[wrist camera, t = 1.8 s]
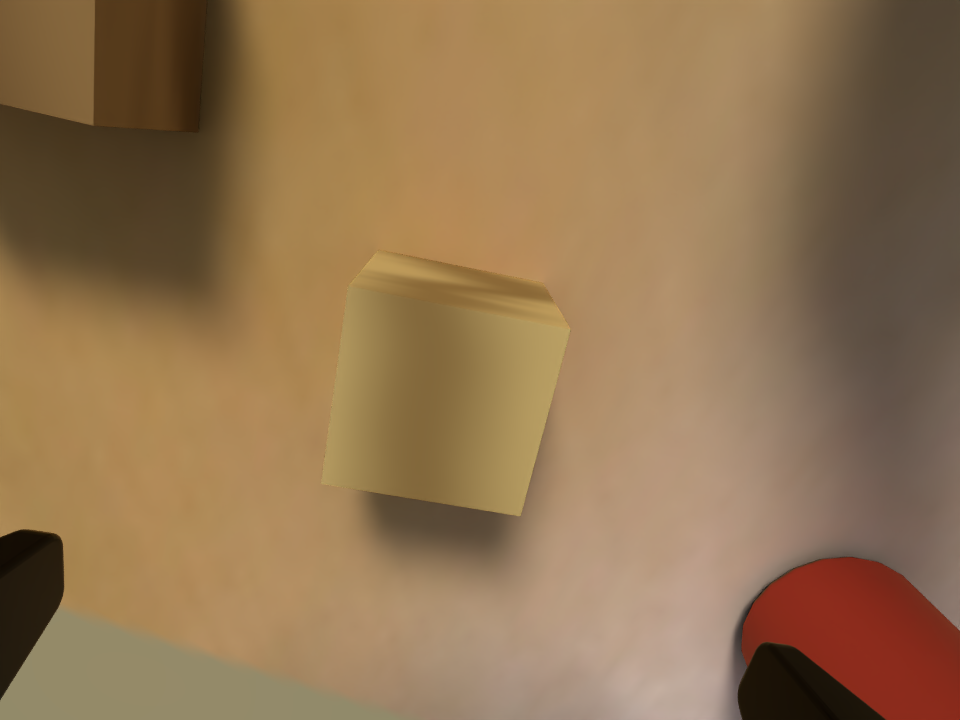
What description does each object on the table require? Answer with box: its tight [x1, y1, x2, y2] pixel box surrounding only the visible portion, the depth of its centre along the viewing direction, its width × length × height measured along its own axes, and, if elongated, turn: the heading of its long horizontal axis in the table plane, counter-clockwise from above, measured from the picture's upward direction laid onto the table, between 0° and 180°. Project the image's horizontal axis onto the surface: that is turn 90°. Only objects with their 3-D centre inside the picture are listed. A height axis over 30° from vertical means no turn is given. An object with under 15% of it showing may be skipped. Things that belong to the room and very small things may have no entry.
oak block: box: [321, 250, 571, 516], centre depth 16 cm, size 5×5×5 cm
